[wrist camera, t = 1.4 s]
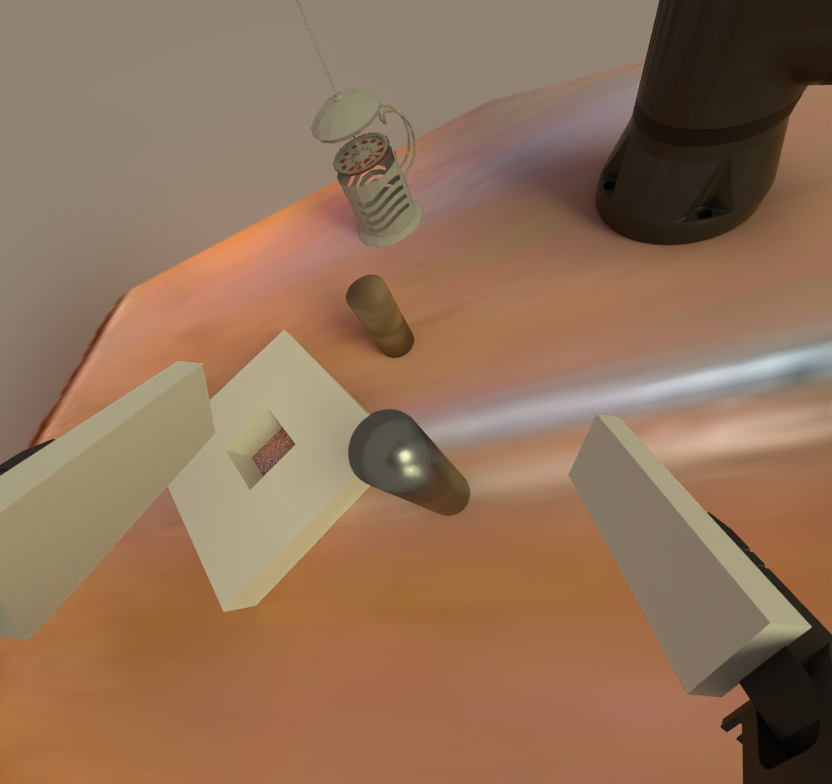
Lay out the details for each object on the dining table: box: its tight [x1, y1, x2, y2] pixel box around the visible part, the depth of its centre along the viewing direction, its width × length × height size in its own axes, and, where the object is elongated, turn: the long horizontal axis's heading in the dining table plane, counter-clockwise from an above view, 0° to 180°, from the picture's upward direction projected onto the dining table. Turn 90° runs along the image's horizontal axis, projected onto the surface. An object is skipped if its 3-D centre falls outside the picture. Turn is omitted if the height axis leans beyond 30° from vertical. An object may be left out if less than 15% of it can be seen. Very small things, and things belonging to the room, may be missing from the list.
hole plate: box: [168, 329, 371, 612], centre depth 36 cm, size 20×20×4 cm
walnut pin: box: [346, 275, 414, 358], centre depth 36 cm, size 4×4×9 cm
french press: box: [296, 0, 422, 247], centre depth 38 cm, size 10×12×25 cm
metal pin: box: [348, 410, 470, 516], centre depth 24 cm, size 4×4×16 cm
